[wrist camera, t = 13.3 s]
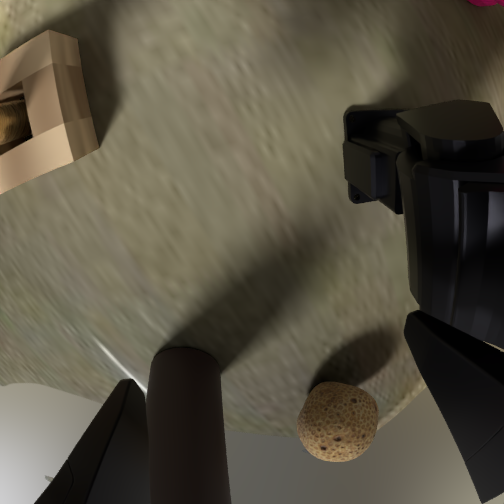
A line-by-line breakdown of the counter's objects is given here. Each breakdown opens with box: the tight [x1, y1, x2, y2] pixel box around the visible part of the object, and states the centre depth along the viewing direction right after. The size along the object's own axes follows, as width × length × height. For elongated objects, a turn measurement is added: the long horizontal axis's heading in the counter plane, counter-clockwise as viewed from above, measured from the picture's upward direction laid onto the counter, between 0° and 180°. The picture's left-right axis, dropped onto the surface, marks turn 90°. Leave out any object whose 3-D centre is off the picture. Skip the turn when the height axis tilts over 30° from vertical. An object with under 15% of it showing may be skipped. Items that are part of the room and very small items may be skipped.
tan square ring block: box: [0, 30, 99, 194], centre depth 13 cm, size 8×8×4 cm
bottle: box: [146, 348, 231, 504], centre depth 18 cm, size 7×7×20 cm
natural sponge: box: [297, 382, 379, 462], centre depth 27 cm, size 9×9×10 cm
